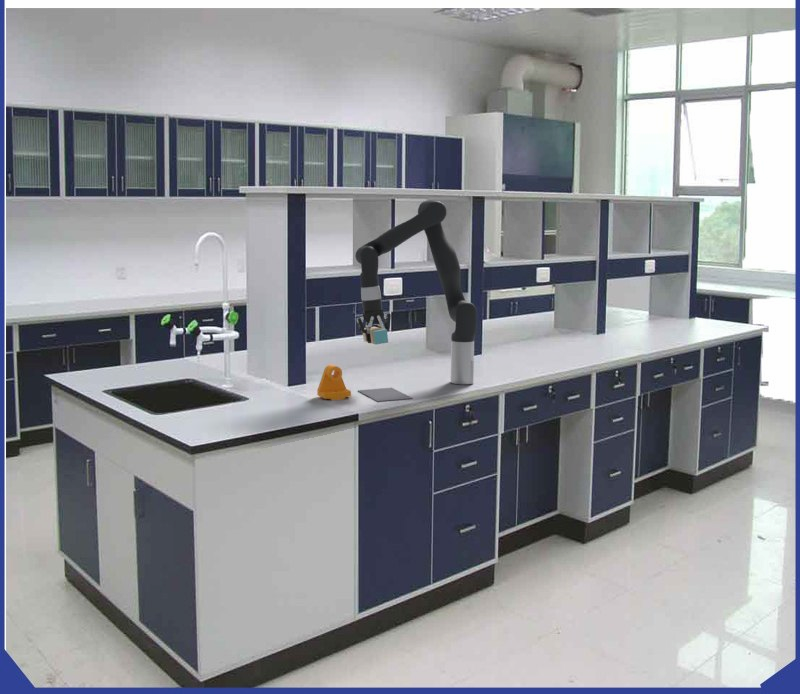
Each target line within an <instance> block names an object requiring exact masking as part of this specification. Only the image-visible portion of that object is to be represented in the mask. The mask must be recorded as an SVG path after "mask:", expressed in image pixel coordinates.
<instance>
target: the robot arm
mask: <svg viewBox="0 0 800 694" xmlns="http://www.w3.org/2000/svg"><path fill="white" fill-rule="evenodd" d="M446 217H447V207H446V205H445V204H444V203H443V202H441V201H439V200H425V201H422V202H421V203H420V204H419V206H418V208H417V214H416V215H415V216H413V217H411V218H410V219H407V220H406V221H404V222H402V223H400V224H397V225H395V226H393V227H391V228H390V229H388V230H387V231H385V232H384V233H381V234H380V235H379V236H378V237H377V238H375V239H373V240H371V241H368V242H366V243H365V244H363V245H361V246H360V247H359V248H357V250H356V252H355V259H356V261H357V262H358V263H359V264H360V267H361V268H360V269H361V273H360V275H359V281H360V295H361V297H360V298H361V305H362V316H360V317H356V318H355V320H356V323H357V327H358V329H359V332H360V333H362V334H363V333H365V335H366V341H367V342H366V343H368V344H372V343H371V337H370V334H369V333H370V329H371V327H373V326H374V325H377V326H378V328H382V329H387V330H389V329H390V326H391V319H392V315H391V313H385V312H384V311H383V303H382V293H381V289H380V281H379V274H378V273H379V257H381V255H384V254H387V253H390V252H391V251H393V250H394V249H395V248H397V247H399V246H400V245H402V244H404V243H405V242H406V241H408V240H409V239H411V238H412V237H414V236H415V235H418V234H419V233H421V232H422V231H424V233H425V236H426V239H427V241H428V242H427V243H428V245H429V248H430V249H429V250H430V253H431V255H432V258H433V261H434V265H435V268H436V272H437V274H438V277H439V280H440V284H441V286H442V289H443V292H444V296H445V300H446V305H447V310H448V314H449V317H450V319H451V320H452V321H453V322H455V330H454V331H453V332H452V333H451V338H450V339H451V341H450V342H451V346H450V383H452V384H454V385H455V384H456V385H470V384H471V385H474V381H475V379H474V378H475V377H474V375H475V374H474V373H475V338H476V337H475V336H476V334H477V326H478V325H477V324H478V309H477V307H476V306H475V304H474V303H472V302H469V301H467V300H466V298H465V295H464V293H463V290H462V287H461V272H462V271H461V266H460V262H459V260H458V259H459V258H458V255H457V252H456V250H455V248H454V247H453V244H451V242H450V240H449V239H448V237H447V236H446V233H445V232H444V229H443V225H442V222H443V221H444V220H445V219H446ZM383 318H384V319H385V320H384V322H383V321H382V320H383ZM364 322H365V326H364ZM364 328H365V329H364Z"/></svg>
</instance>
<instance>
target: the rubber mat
mask: <svg viewBox="0 0 800 694" xmlns="http://www.w3.org/2000/svg"><path fill="white" fill-rule="evenodd" d="M357 392H358V393H360V394H362V395H363V396H366V397H367V398H369V399H372V400H373V401H375V402H376V403H381V402H393V401H394V402H395V401H404V400H413V397H412V396H409V395H408V394H406V393H403V392H401V391H399V390H397V389H395V388H393V387H383V388H372V389H370V388H369V389H360V390H359V389H358V390H357Z"/></svg>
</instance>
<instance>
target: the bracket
mask: <svg viewBox="0 0 800 694" xmlns="http://www.w3.org/2000/svg"><path fill="white" fill-rule="evenodd" d="M316 391H317V396H318V397H321V398H322V399H325V400H327V399H328V400H330V401H338V400H339V401H340V400H346V398H347V397H352V390H350V389H347V387H346V384H345V382H344V380H343V370H342V369H341V368H340V367H339V366H336V365H335V364H327V366H325V368H324V370H323V373H322V376H321V378H320V381H319V384H318V387H317V390H316Z"/></svg>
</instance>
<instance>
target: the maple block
mask: <svg viewBox="0 0 800 694" xmlns="http://www.w3.org/2000/svg"><path fill="white" fill-rule="evenodd" d="M365 328H366V327H364V329H365ZM369 334H370V337H371V343H370V344H373V345H383V344H388V343H389V337H388V329H382V328H379V326H378V327H377V326H372V327H371V329H370V333H369ZM362 339H363V342H366V343H368V342H367V341H366V335H365V333H362Z"/></svg>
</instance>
